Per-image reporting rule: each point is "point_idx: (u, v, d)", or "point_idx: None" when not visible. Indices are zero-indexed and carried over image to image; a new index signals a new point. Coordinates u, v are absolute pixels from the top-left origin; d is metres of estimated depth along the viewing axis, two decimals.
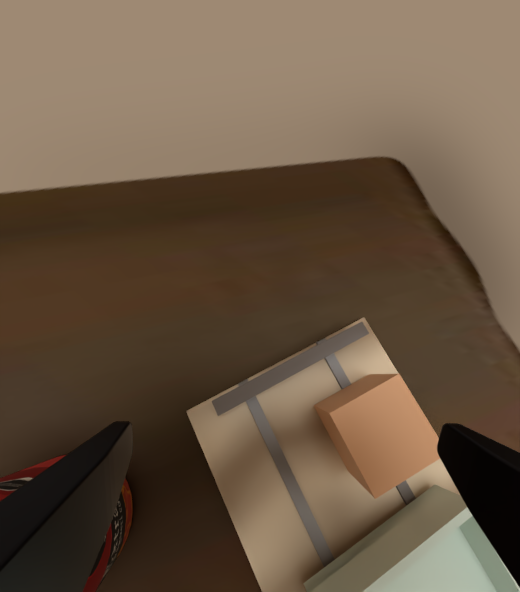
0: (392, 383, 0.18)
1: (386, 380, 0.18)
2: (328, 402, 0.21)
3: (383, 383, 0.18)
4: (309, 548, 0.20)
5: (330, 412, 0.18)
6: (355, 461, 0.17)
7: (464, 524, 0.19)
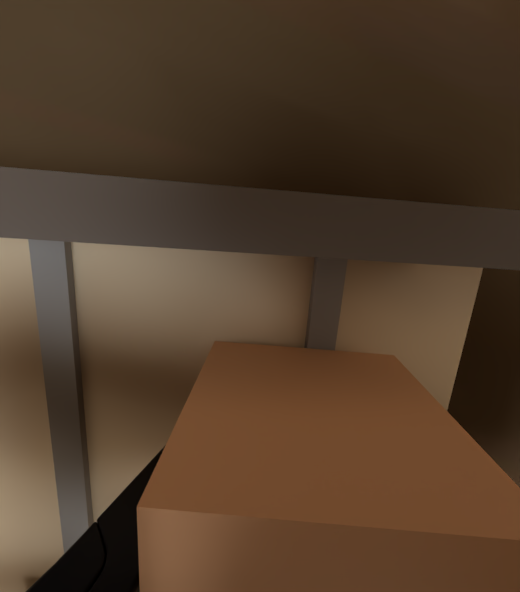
0: (503, 559, 0.03)
1: (486, 524, 0.04)
2: (234, 378, 0.06)
3: (467, 538, 0.03)
4: (58, 551, 0.10)
5: (149, 499, 0.04)
6: None
7: None
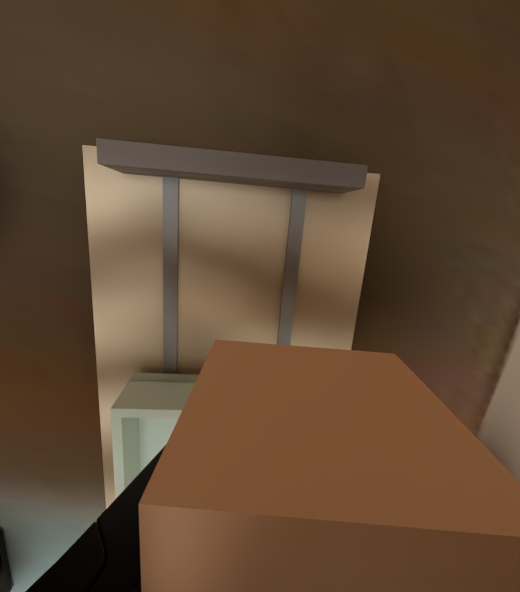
0: (505, 556, 0.03)
1: (488, 521, 0.04)
2: (235, 376, 0.06)
3: (470, 535, 0.03)
4: (158, 353, 0.18)
5: (151, 496, 0.04)
6: None
7: None
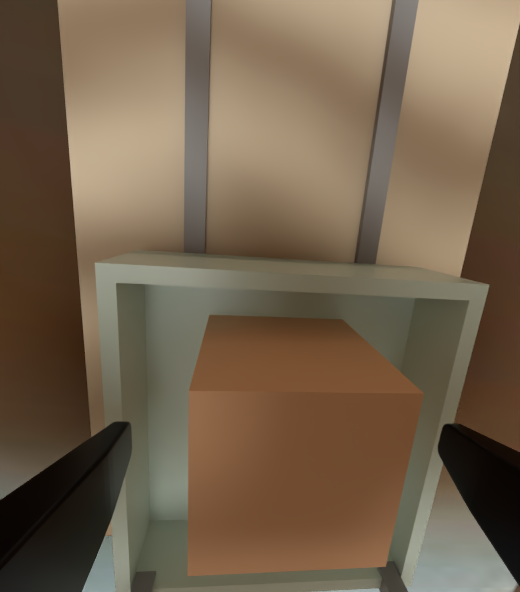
0: (390, 405, 0.06)
1: (382, 389, 0.06)
2: (230, 335, 0.09)
3: (371, 394, 0.06)
4: (176, 224, 0.12)
5: (194, 388, 0.06)
6: (189, 504, 0.07)
7: (426, 320, 0.11)
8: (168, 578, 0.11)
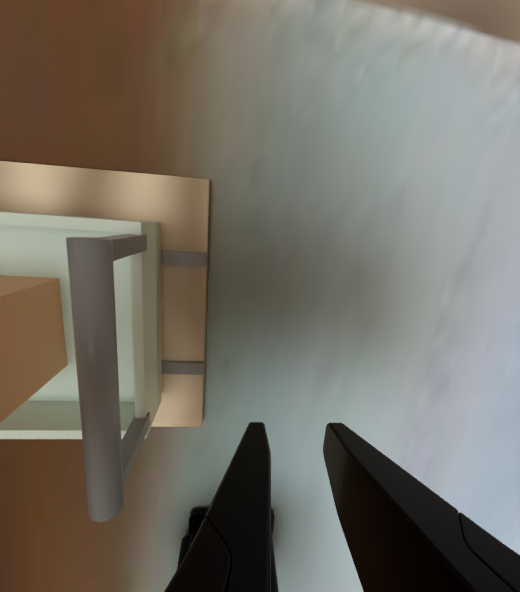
0: None
1: None
2: None
3: None
4: None
5: None
6: None
7: None
8: None
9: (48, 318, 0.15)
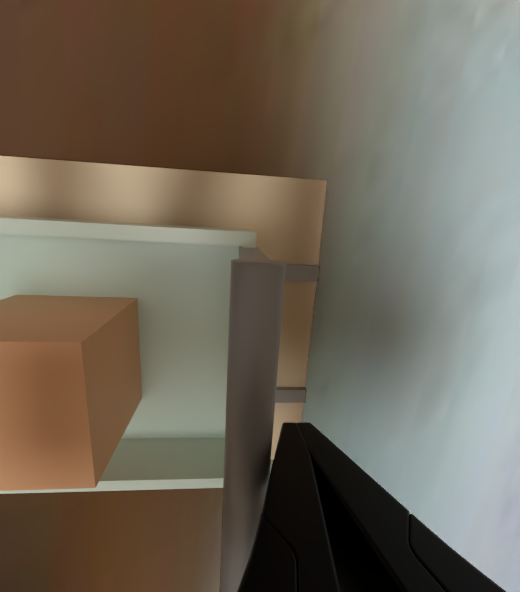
0: None
1: None
2: None
3: None
4: None
5: None
6: (27, 487, 0.09)
7: None
8: None
9: (130, 347, 0.12)
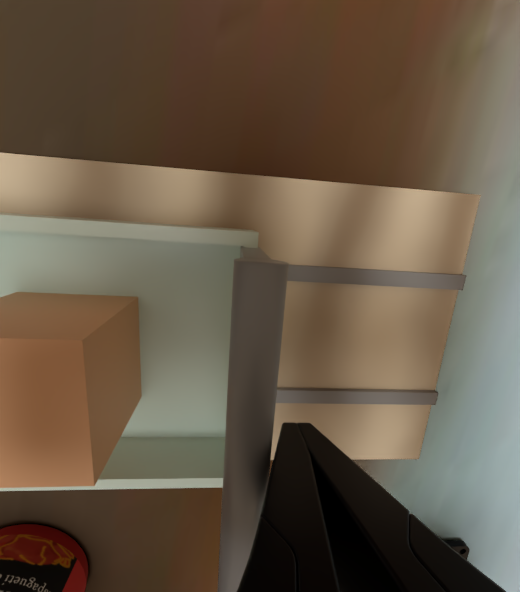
0: None
1: None
2: None
3: None
4: None
5: None
6: (26, 484, 0.09)
7: None
8: None
9: (130, 346, 0.12)
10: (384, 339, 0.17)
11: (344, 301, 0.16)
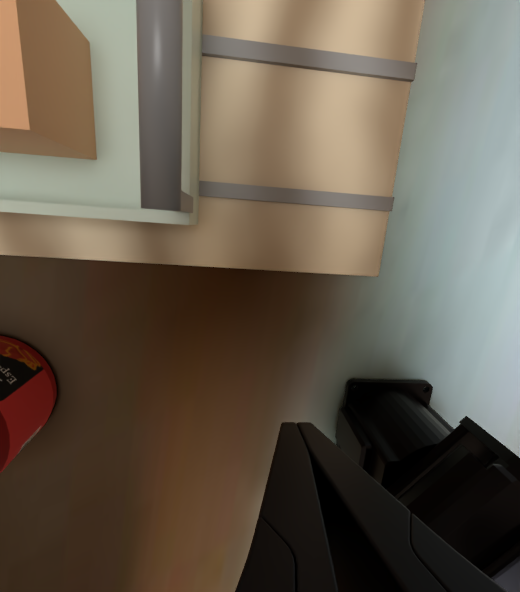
0: None
1: None
2: None
3: None
4: None
5: None
6: None
7: None
8: None
9: (79, 75, 0.13)
10: (339, 135, 0.17)
11: (298, 89, 0.16)
